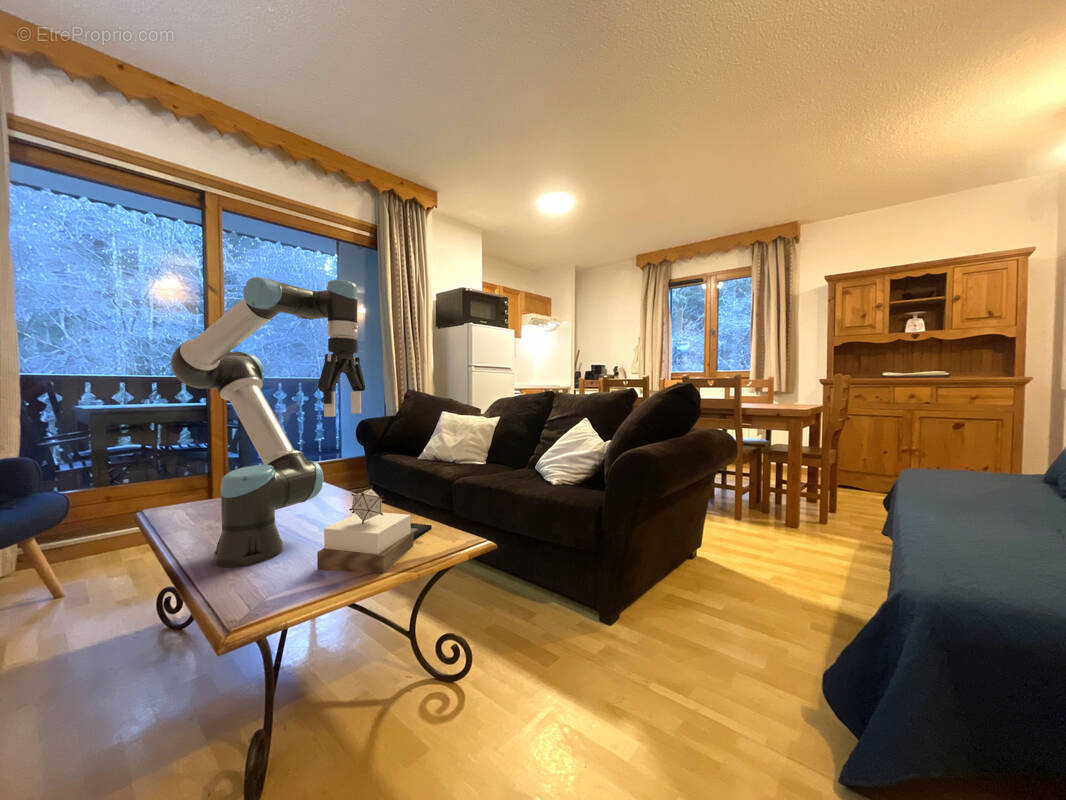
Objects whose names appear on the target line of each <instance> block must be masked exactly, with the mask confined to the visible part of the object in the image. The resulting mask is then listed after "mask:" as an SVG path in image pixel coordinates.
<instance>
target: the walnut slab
mask: <svg viewBox="0 0 1066 800" xmlns="http://www.w3.org/2000/svg"><path fill="white" fill-rule="evenodd" d="M413 547H414V541H413V531H411V533H410V534H408V535H407V536H405V537H404V538H402V539H401V540H399V541H398V542H396V543H395V544H393V545H391V546H390V547H388V548H387V549H385V550H384V551H382V552H381V553H379V554H370V553H361V552H352V551H343V550H334V549H325V548H322V549H320V550H319V551H317V555H316V556H317V558H316V559H317V560H316V562H317V567H316V568H317V570H318V571H330V572H331V571H333V572H334V571H335V572H354V573H355V572H356V573H357V572H358V573H361V572H362V573H376V572H378V573H381V574H383V573H385V572H387V571H388V569H390V568H391V567H392V566H393V565H394V564H395V563H397V562H398V561H399V560H400V559H401V558H402V557H403V556H404V555H405V554H406V553H407V552H408V551H410V550H411V549H412V548H413ZM378 573H377V574H378Z"/></svg>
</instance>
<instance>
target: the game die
mask: <svg viewBox="0 0 1066 800" xmlns="http://www.w3.org/2000/svg"><path fill="white" fill-rule="evenodd" d="M351 496H352V497H353V499H352V505H351V508H349V509H348V511H351V514H357V515H358V516H359V517H360V518H361V519H362V524H363V523H364V521H365V520H367V519H369V518H372V517H374V516H376V515H379V514H381V515H383V514H382V513H383V512H382V504H383V503H382V502H384V501H385V498H383V497H384V495H379V494H378V493H377V492H376V491H375V490H374V489H373V485H371V486H369V489H366V490H363V491H362V492H359V493H356V494H354V493H351Z"/></svg>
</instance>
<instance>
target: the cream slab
mask: <svg viewBox="0 0 1066 800" xmlns="http://www.w3.org/2000/svg"><path fill="white" fill-rule="evenodd" d="M381 513H382V514H383V515H381V514H379V515H376V516H374V517H372V518H369V519H367V520H365V521H364V523H363V524H362V519H361V518H360V517H359V516H358V515H357V514H356V513H354V514H353V515H351V516H349V517H346V518H344V519H342V520H340V521H337V522H335V523H333V524H331V525H328V526H326V527H324V528H323V535H324V536H323V542H324V548H325V549H334V550H343V551H352V552H361V553H370V554H379V553H381V552H382V551H384V550H385V549H387V548H388V547H390V546H391V545H393V544H395V543H396V542H398V541H399V540H401V539H402V538H404V537H405V536H407V535H408V534H410V533H411V523H412V522H411V514H403V513H392V512H381Z"/></svg>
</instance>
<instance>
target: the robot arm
mask: <svg viewBox="0 0 1066 800" xmlns="http://www.w3.org/2000/svg"><path fill="white" fill-rule="evenodd" d="M357 288H358V287H357V285H356V284H355V283H354V282H352V281H348V280H343V279H342V280H341V279H332V280H331V279H330V280H329V281H328V282H327V286H326V289H325V290H310V289H307V288H304V287H300V286H295V285H290V284H288V283H284V282H280V281H276V280H274V279H271V278H265V277H259V276H254V277H251V278H249V279H248V280H247V281H246V282H245V286H244V287H243V291H242V294H243V298H242V299H241V300H240V301H238V302H237V303H236V304H235V305H234V306H233V307H231V308H230V309H228V311H227V312H226V313H224V314H223V315H222V316H221V317H219V318H218V319H217V320H216V321H215V322H214V323H212V324H211V325H210V326H209V327H207V328H206V329H205V330H204V331H203V332H201V333H200V334H199V335H197V336H196V337H195V338H194V339H188V340H185V341H184V342H182V343H181V344H180V345H179V346H177V348H176V349H175V350H174V351H173V353H172V355H171V360H170V366H171V367H170V368H171V371H172V373H173V375H174V376H175V378H176V379H178V380H179V381H180V382H182V383H183V384H184V385H186V386H189V387H191V388H194V389H195V388H196V389H211V390H212V389H213V390H214V389H215V390H216V391H217V392H218V394H219V396H220V398H221V399H223V400H225V401H228V402H229V403H230V404H231V406H232V407H233V410H234V411H235V414H236V415H237V417H238V419H239V421H240V422H241V424H242V426H243V429H244V430H245V431H246V434H247V435H248V437H249V439H250V441H251V443H252V445H253V446H254V448H255V450H256V452H257V454H258V456H259V458H260V459H261V462H262V464H257V465H256V464H255V465H252V466H249V465H248V466H244V467H241V468H240V467H239V468H236V469H234V470H232V471H229V472H228V473H226V474H225V475H224V476H223V477H222V479H221V484H220V492H219V494H220V495H219V496H220V503H221V504H220V505H221V507H220V509H221V514H220V515H221V534H220V536H219V538H218V541H217V546H216V548H215V551H214V553H213V565H214V566H215V567H218V568H223V569H224V568H225V569H227V568H228V569H231V568H243V567H248V566H253V565H256V564H261V563H264V562H267V561H269V560H272V559H273V558H275V557H277V556H279V555H280V554H282V552H283V551H284V547H283V546H284V545H283V544H284V543H283V542H284V541H283V540H282V539H281V537H280V533H279V530H278V528H277V525H276V515H275V514H276V511H277V510H280V509H283V508H287V507H290V506H293V505H298V504H303V503H305V502H307V501H309V500H312V499H314V498H315V497H317V496H318V495H319V494H320V492H321V491H322V488H323V485H324V484H323V483H324V478H325V477H324V472H323V469H322V467H321V465H320V464H319V463H318V462H317V461H314V460H311V459H310V460H307V458H306V456H305V455H304V453H303V452H302V451H300V450H295V449H294V447H293V445H292V444H291V442H290V440H289V439H288V436H287V435H286V433H285V431H284V429H283V427H282V425H281V423H280V422H279V420H278V418H277V417H276V415H275V413H274V411H273V410H272V408H271V407H270V404H269V402H268V400H267V399H266V397H265V395H264V393H263V392H262V390H261V389H262V388H263V385H264V383H263V382H264V381H265V373H264V372H265V368H264V365H263V363H262V361H261V360H260V359H259V358H258V357H257V356H255V355H254V354H251V353H248V352H243V351H237V350H235V351H233V350H234V349H235V348H236V347H238V346H239V345H240V344H241V343H243V342H244V341H246V339H248V338H249V337H250V336H251V335H253V334H254V333H255V332H257V331H258V330H259V329H260V328H261V327H263V326H264V325H266V324H267V323H268V322H269V321H270V320H272V319H273V318H274V317H276V316H277V315H278V314H280V313H282V314H287V315H288V314H289V315H293V316H295V317H297V318H298V319H301V320H310V321H312V320H318V319H319V320H320V319H327V336H328V337H329V338H328V340H327V350H328V352H329V353H325V354H324V363H323V367H322V369H321V374H320V376H319V380H318V383H317V389H318V390H319V392H323V416H324V417H333V418H334V417H337V415H336V410H337V409H336V406H337V405H336V402H337V401H336V399H337V398H336V391H334V390H335V387H336V385H337V383H338V381H339V379H340V376H341V375H342V373H343V374H345V375H346V378H347V380H348V382H349V385H350V387H351V389H352V390H351V391H350V414H362V392H364V391H365V390H366V385H365V383H366V382H365V379H364V375H363V371H362V368H361V361H360V357H359V356H356V357H354V354H356V353H358V352H359V341H358V339H357V338H358V330H359V325H358V303H359V301H358V300H359V298H358V296H359V295H358V289H357Z"/></svg>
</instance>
